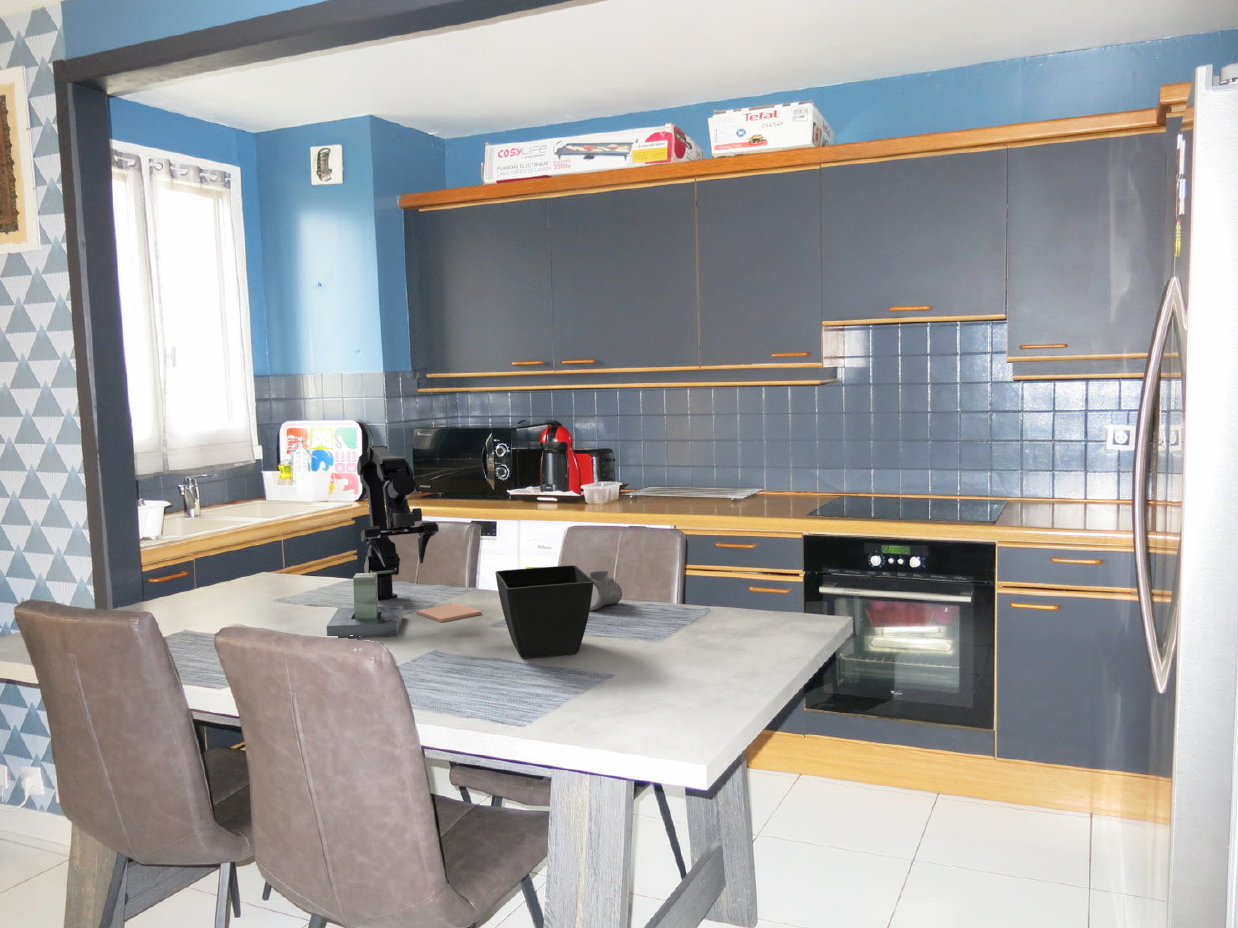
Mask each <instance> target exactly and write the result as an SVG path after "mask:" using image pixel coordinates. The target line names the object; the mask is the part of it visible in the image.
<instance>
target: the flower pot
mask: <svg viewBox="0 0 1238 928" xmlns="http://www.w3.org/2000/svg"><path fill="white" fill-rule="evenodd" d="M495 579H496V580H495V581H496V585H497V586H496V587H497V589H498V597H499V599H500V605H501V608H502V612H503V616H504V617H503V618H504V620H505V622H506V623H505V624H506V626H507V630H508V634H509V636H510V639H511V641H512V644H513V646H514V647H515V649H516V651H517V653H518V655H519V657H520V658H521V659H531V658H532V659H534V658H543V657H544V658H545V657H553V656H555V657H556V656H562V655H564V656H565V655H575V654H578V653H579V651H580V649H581V646H582V642H583V638H584V635H585V632H586V629H587V626H588V625H587V624H588V621H589V620H588V619H589V617H590V616H589V615H590V612H591V611H590V606H591V599H592V591H593V580H592V579H591V578H590V576H588V575H587V573H585V572H584V571H583V570H582V569H580V567H578V566H577V565H572V564H571V565H558V566H557V565H556V566H555V565H554V566H545V567H544V566H543V567H541V566H540V568H527V569H525V568H520V569H519V568H517V569H505V570H504V569H503V570H497V571H495Z"/></svg>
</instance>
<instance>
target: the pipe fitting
mask: <svg viewBox="0 0 1238 928" xmlns="http://www.w3.org/2000/svg"><path fill="white" fill-rule="evenodd" d="M588 575H589V577H590V578H591V579H592V580H593V591H592V599H591V606H590V611H589V612H593V611H597V610H599V609H601V608H602V607H603V606H606V605H607V606H609V605H616V604H618V603H619V602H620V601H621V600H622V598H623V589H622V587H621V585H620V584H619V583H617V582H616V581H615V578H613V577H610V576H608V575H609V570H606V569H605V570H601V569H600V570H599V569H597V570H589V574H588Z"/></svg>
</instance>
